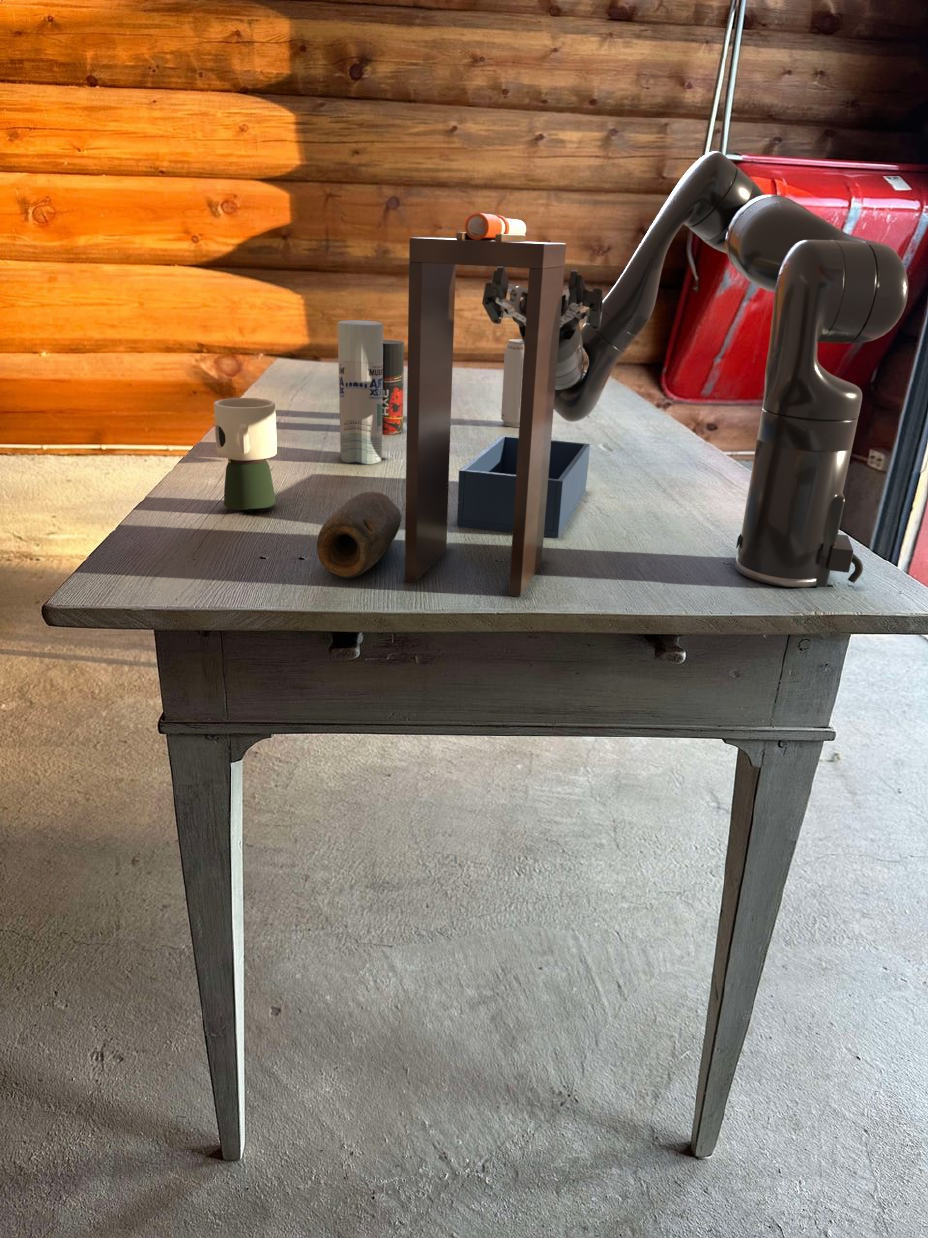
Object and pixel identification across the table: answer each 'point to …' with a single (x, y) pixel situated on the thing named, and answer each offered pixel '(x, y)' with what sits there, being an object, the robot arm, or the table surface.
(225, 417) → the character mug
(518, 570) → the stand
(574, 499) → the bin
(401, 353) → the deodorant
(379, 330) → the spray paint can
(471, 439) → the table surface
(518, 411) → the energy drink can
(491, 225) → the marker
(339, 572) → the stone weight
